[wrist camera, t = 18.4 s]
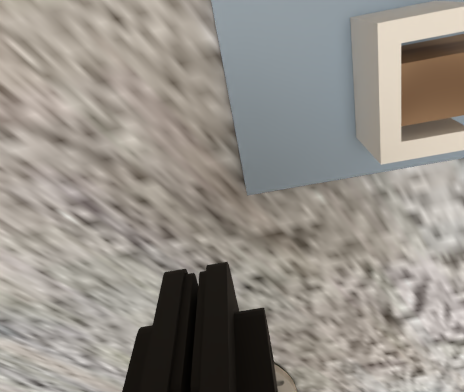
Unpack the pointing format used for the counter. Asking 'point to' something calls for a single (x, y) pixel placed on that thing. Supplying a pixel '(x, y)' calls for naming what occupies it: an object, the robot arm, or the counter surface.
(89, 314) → the counter surface
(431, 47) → the brown rectangular block
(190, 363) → the robot arm
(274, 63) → the board
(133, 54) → the counter surface
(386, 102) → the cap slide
